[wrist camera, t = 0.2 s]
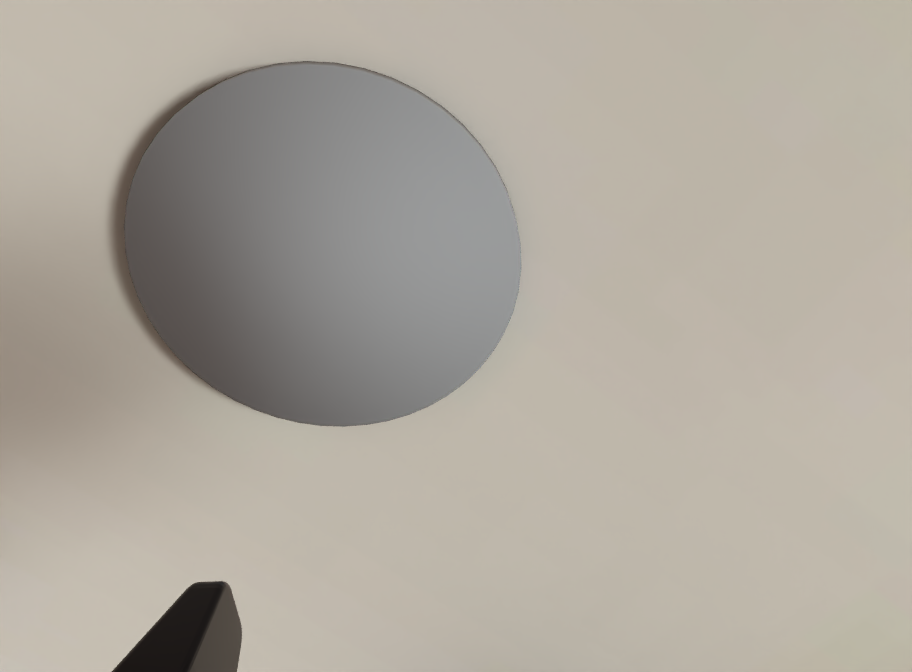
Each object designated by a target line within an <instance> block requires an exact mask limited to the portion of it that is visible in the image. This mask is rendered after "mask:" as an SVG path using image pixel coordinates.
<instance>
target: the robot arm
mask: <svg viewBox="0 0 912 672" xmlns="http://www.w3.org/2000/svg"><path fill="white" fill-rule="evenodd" d="M241 640H242V628H241V622H240V619H239V615H238V612H237V608H236V605H235V601H234V598H233V594H232V591H231V588H230V586H229V585H228V584H227V583H226V582H223V581H215V582H197V583H194V584H192V585H191V586H190V587H188V588H187V589H186V590H185V592H184V593H183V594H182V595H181V596H180V597H179V598H178V599H177V600H176V601H175V603H174V604H173V605H172V606H171V607H170V608H169V609H168V610H167V611H166V613H165V614H164V615H163V616H162V617H161V618H160V619H159V620H158V621H157V622H156V624H155V625H154V626H153V627H152V628H151V629H150V630H149V631H148V632H147V633H146V635H145V636H144V637H143V638H142V639H141V640H140V641H139V642H138V643H137V644H136V646H135V647H134V648H133V649H132V650H131V651H130V652H129V653H128V654H127V656H126V657H125V658H124V659H123V660H122V661H121V662H120V663H119V664H118V665H117V667H116V668H115V669H114V670H113V671H112V672H237V668H238V661H239V655H240V648H241Z"/></svg>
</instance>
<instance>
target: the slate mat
mask: <svg viewBox="0 0 912 672" xmlns="http://www.w3.org/2000/svg"><path fill="white" fill-rule="evenodd" d="M124 231H125V250H126V256H127V261H128V266H129V271H130V275H131V278H132V281H133V284H134V287H135V290H136V293H137V296H138V298H139V300H140V302H141V304H142V306H143V308H144V310H145V312H146V314H147V316H148V318H149V320H150V322H151V323H152V325H153V326H154V328H155V329H156V331H157V332H158V334H159V335H160V337H161V338H162V339H163V341H164V342H165V343H166V344H167V345H168V347H169V348H170V349H171V350H172V351H173V353H174V354H175V355H176V356H177V357H178V358H179V359H180V360H181V361H182V362H183V363H184V364H185V365H186V366H187V367H188V368H189V369H191V370H192V371H193V372H194V373H195V374H196V375H198V376H199V377H200V378H201V379H203V380H204V381H205V382H207V383H208V384H209V385H211V386H212V387H213V388H215V389H217V390H218V391H220V392H222V393H223V394H225V395H227V396H228V397H230V398H232V399H233V400H235V401H237V402H240V403H242V404H244V405H246V406H248V407H250V408H252V409H254V410H257V411H260V412H263V413H266V414H269V415H271V416H274V417H277V418H282V419H286V420H290V421H294V422H298V423H305V424H312V425H320V426H357V425H368V424H374V423H379V422H385V421H389V420H393V419H396V418H400V417H403V416H406V415H409V414H412V413H414V412H416V411H419V410H421V409H424V408H426V407H428V406H430V405H432V404H434V403H435V402H437V401H439V400H441V399H442V398H444V397H446V396H448V395H449V394H450V393H452V392H453V391H454V390H456V389H457V388H458V387H460V386H461V385H462V384H464V383H465V382H466V381H467V380H468V379H469V378H470V377H471V376H472V375H473V374H474V373H475V372H476V371H477V370H478V369H479V368H480V367H481V366H482V365H483V364H484V362H485V361H486V360H487V359H488V357H489V356H490V355H491V354H492V352H493V351H494V349H495V348H496V346H497V344H498V343H499V341H500V339H501V337H502V336H503V334H504V332H505V330H506V328H507V325H508V323H509V321H510V318H511V316H512V313H513V310H514V306H515V303H516V299H517V295H518V291H519V283H520V274H521V247H520V239H519V233H518V228H517V222H516V218H515V214H514V210H513V207H512V204H511V201H510V198H509V195H508V192H507V189H506V187H505V185H504V183H503V181H502V179H501V177H500V175H499V173H498V171H497V169H496V167H495V165H494V164H493V162H492V161H491V159H490V158H489V156H488V155H487V153H486V152H485V150H484V149H483V147H482V146H481V144H480V143H479V142H478V141H477V140H476V139H475V138H474V136H473V135H472V134H471V133H470V132H469V131H468V130H467V128H466V127H465V126H464V125H463V124H462V123H461V122H460V121H458V120H457V119H456V118H455V117H454V116H453V115H452V114H450V113H449V112H448V111H447V110H446V109H445V108H443V107H442V106H441V105H439V104H438V103H436V102H435V101H433V100H432V99H430V98H429V97H427V96H426V95H424V94H423V93H421V92H420V91H418V90H416V89H414V88H412V87H410V86H408V85H406V84H404V83H402V82H400V81H398V80H396V79H394V78H392V77H389V76H386V75H383V74H380V73H377V72H374V71H371V70H368V69H365V68H360V67H355V66H349V65H344V64H339V63H330V62H311V61H303V62H291V63H279V64H274V65H270V66H265V67H261V68H257V69H252V70H249V71H246V72H244V73H241V74H239V75H236V76H234V77H231V78H228V79H226V80H224V81H222V82H220V83H219V84H217V85H215V86H213V87H212V88H210V89H208V90H206V91H205V92H203V93H201V94H200V95H199V96H197V97H196V98H195V99H193V100H192V101H191V102H190V103H188V104H187V105H186V106H185V107H183V108H182V109H181V110H180V111H178V112H177V113H176V114H175V115H174V116H173V117H172V118H171V119H170V120H169V121H168V122H167V123H166V125H165V126H164V127H163V128H162V129H161V130H160V131H159V132H158V133H157V135H156V136H155V138H154V139H153V141H152V142H151V144H150V145H149V147H148V149H147V150H146V152H145V153H144V155H143V157H142V159H141V161H140V163H139V166H138V168H137V170H136V173H135V175H134V177H133V180H132V184H131V188H130V192H129V195H128V199H127V204H126V214H125V225H124Z"/></svg>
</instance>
